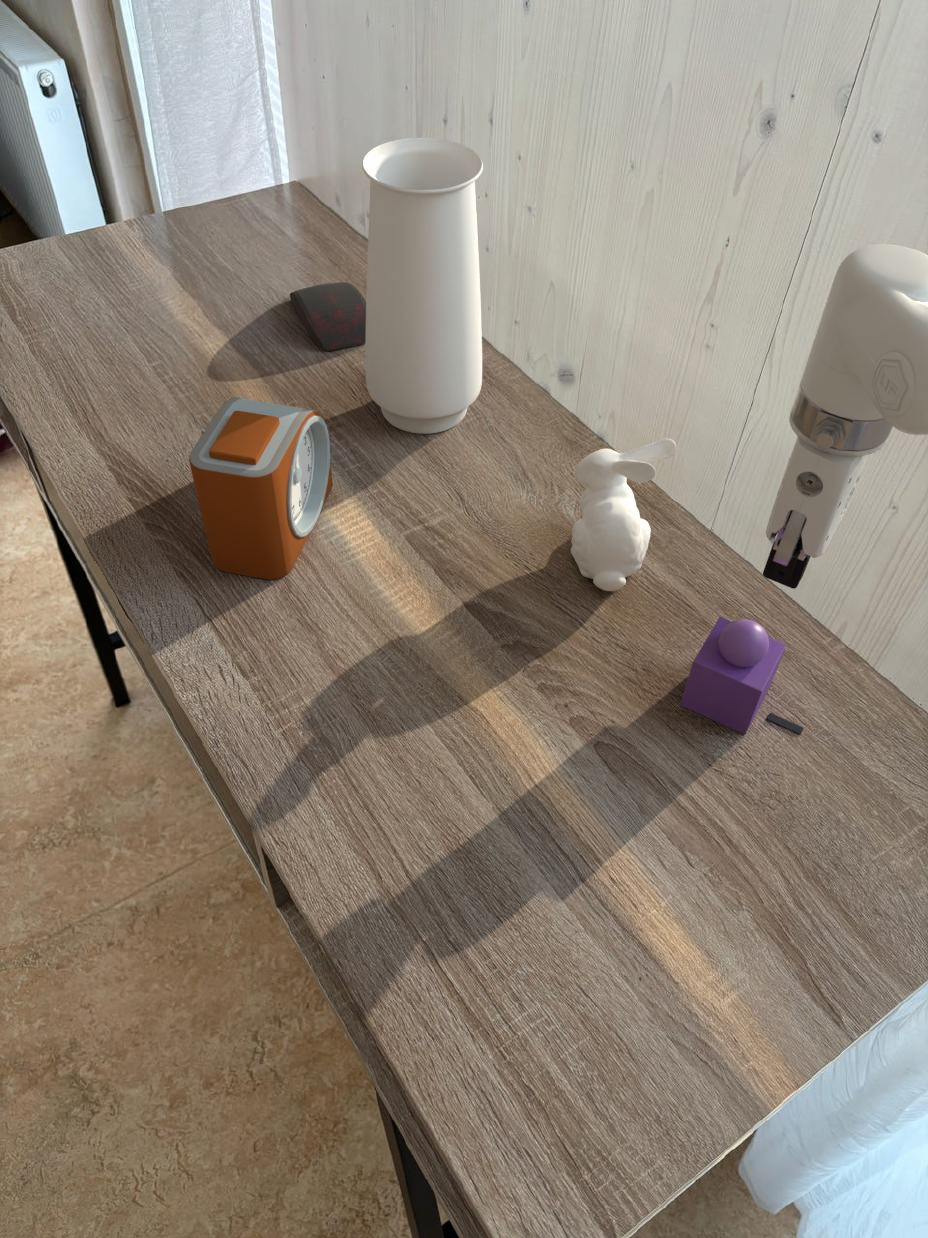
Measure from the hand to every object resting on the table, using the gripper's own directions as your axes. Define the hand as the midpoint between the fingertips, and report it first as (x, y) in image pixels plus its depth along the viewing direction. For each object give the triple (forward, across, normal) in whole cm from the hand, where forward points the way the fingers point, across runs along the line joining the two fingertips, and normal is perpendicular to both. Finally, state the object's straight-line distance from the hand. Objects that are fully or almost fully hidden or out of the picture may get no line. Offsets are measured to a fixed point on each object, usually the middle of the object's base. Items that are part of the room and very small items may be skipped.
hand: (781, 577), depth 91 cm
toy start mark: (+5, -11, -6) cm, 14 cm away
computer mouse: (+6, +19, +65) cm, 68 cm away
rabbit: (+6, 0, +17) cm, 18 cm away
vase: (+6, +10, +45) cm, 46 cm away
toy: (+5, -11, 0) cm, 12 cm away
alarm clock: (+6, -15, +47) cm, 50 cm away
